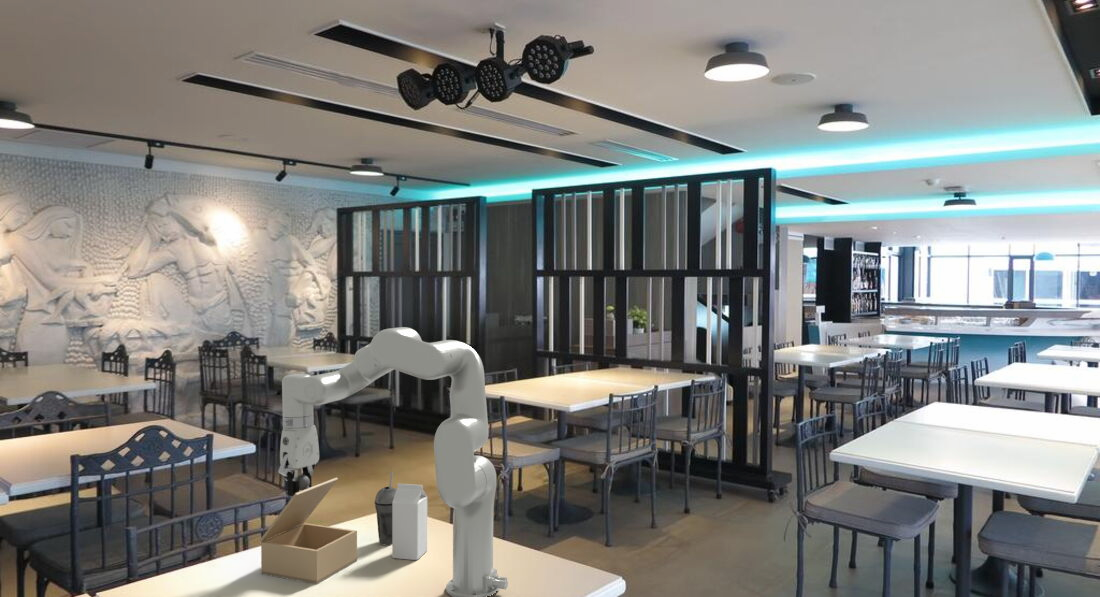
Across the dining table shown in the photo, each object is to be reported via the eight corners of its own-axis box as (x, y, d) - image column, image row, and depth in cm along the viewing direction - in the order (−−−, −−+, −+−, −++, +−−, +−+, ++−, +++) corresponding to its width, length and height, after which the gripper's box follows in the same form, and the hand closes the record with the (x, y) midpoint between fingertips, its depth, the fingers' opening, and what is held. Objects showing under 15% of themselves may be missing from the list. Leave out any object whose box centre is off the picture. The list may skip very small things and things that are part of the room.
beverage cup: (373, 539, 209) (373, 469, 208) (399, 536, 211) (399, 467, 210) (375, 548, 202) (375, 475, 201) (402, 545, 204) (402, 473, 204)
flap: (338, 478, 194) (323, 461, 196) (296, 495, 179) (281, 476, 181) (304, 522, 198) (289, 505, 200) (261, 541, 183) (246, 523, 185)
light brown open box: (357, 561, 192) (356, 530, 192) (317, 584, 177) (317, 551, 177) (304, 552, 198) (304, 523, 198) (261, 574, 183) (261, 542, 183)
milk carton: (417, 560, 193) (417, 488, 192) (392, 558, 194) (392, 487, 194) (427, 551, 200) (427, 481, 199) (402, 549, 201) (402, 480, 201)
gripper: (287, 429, 179) (289, 503, 179) (331, 417, 195) (332, 486, 195) (263, 427, 182) (264, 501, 182) (308, 416, 197) (309, 484, 198)
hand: (299, 492), depth 189 cm, fingers closed on flap, 4 cm apart
